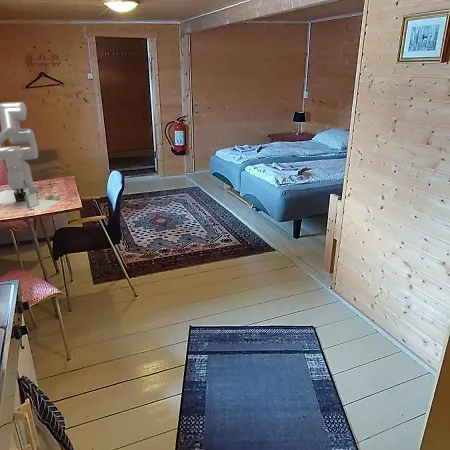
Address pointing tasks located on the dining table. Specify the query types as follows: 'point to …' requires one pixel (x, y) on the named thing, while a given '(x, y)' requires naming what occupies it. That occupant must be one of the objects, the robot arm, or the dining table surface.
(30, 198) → the tile
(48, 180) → the dining table surface
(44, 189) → the dining table surface
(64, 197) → the dining table surface
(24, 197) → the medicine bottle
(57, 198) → the turner
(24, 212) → the dining table surface
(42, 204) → the mat
